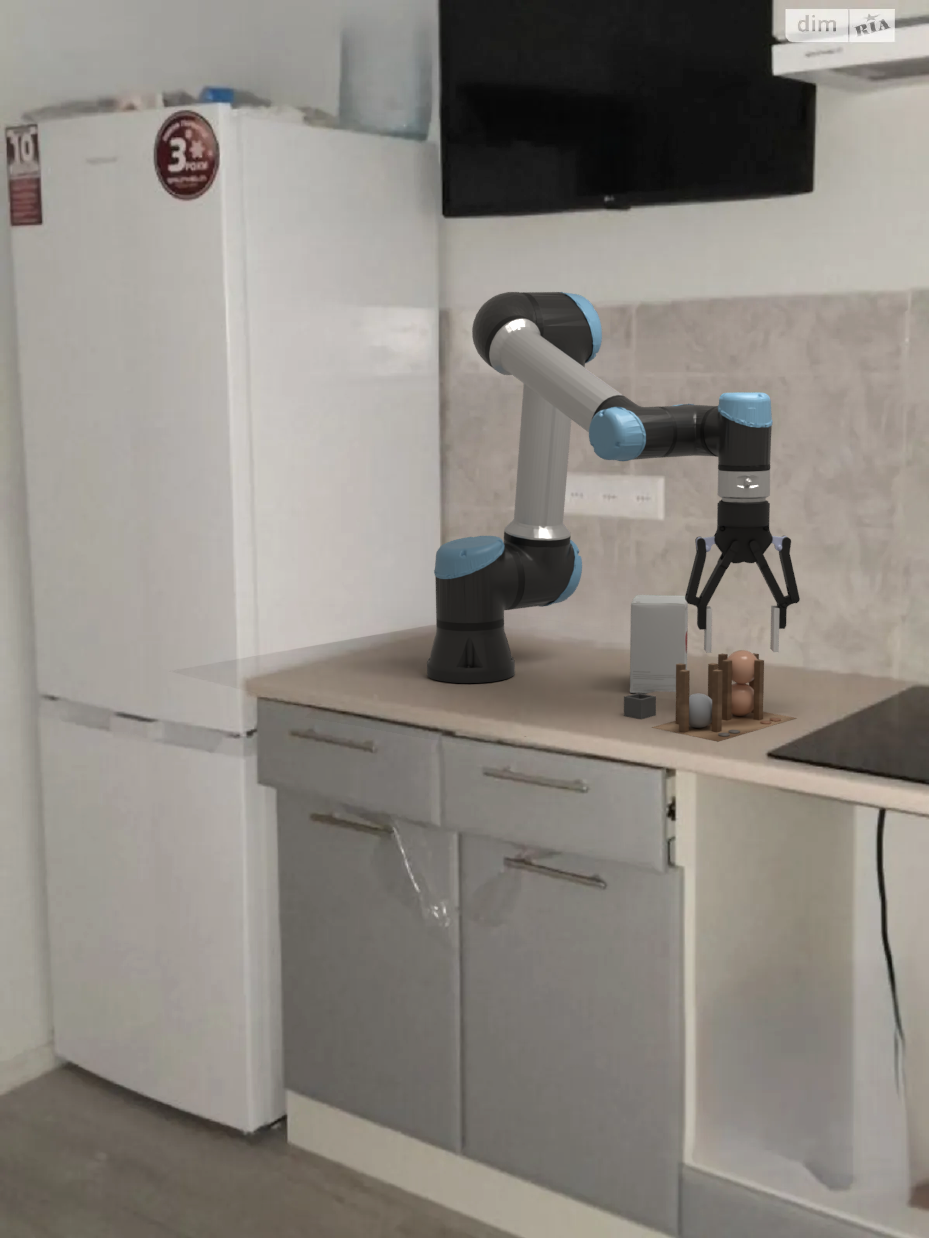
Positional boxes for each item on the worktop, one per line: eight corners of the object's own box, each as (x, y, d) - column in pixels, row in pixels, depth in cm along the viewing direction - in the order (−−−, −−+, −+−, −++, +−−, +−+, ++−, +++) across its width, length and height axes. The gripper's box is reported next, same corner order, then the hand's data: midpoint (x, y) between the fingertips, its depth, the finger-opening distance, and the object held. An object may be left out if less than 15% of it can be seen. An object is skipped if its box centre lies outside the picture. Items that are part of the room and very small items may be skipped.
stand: (623, 719, 229) (623, 696, 228) (638, 715, 231) (638, 692, 230) (641, 723, 226) (641, 700, 226) (655, 719, 229) (656, 696, 228)
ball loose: (720, 674, 229) (726, 643, 227) (753, 679, 229) (759, 648, 228) (724, 686, 224) (730, 654, 223) (758, 690, 224) (764, 658, 223)
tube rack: (651, 731, 221) (651, 667, 220) (731, 709, 234) (731, 648, 232) (718, 745, 213) (719, 679, 211) (796, 722, 225) (798, 659, 224)
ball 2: (716, 716, 227) (715, 683, 227) (736, 710, 231) (736, 678, 230) (743, 720, 224) (743, 687, 223) (763, 714, 227) (763, 682, 227)
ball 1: (673, 727, 221) (674, 693, 220) (695, 721, 224) (695, 688, 223) (701, 733, 217) (701, 699, 216) (722, 727, 220) (723, 693, 220)
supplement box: (685, 695, 244) (686, 603, 241) (629, 694, 246) (629, 602, 243) (688, 683, 253) (689, 594, 250) (634, 682, 254) (634, 593, 252)
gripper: (671, 502, 218) (669, 656, 222) (824, 500, 218) (820, 654, 222) (665, 497, 226) (664, 646, 230) (814, 496, 225) (810, 645, 229)
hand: (741, 650), depth 226 cm, fingers open, 9 cm apart
